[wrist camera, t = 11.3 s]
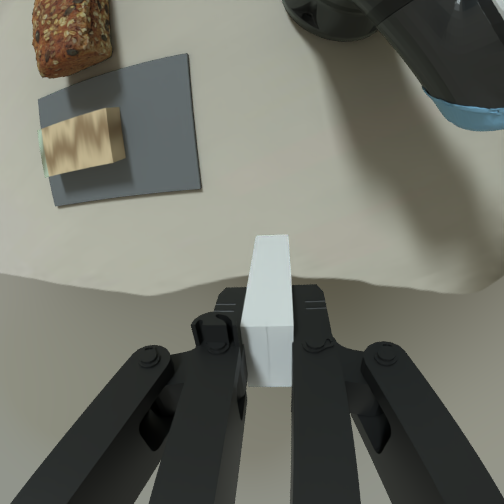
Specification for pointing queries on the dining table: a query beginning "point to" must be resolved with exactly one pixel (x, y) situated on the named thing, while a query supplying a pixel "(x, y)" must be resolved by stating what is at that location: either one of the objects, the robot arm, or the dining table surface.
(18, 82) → the dining table surface
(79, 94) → the mat
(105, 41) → the bread
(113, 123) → the slab
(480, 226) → the dining table surface
